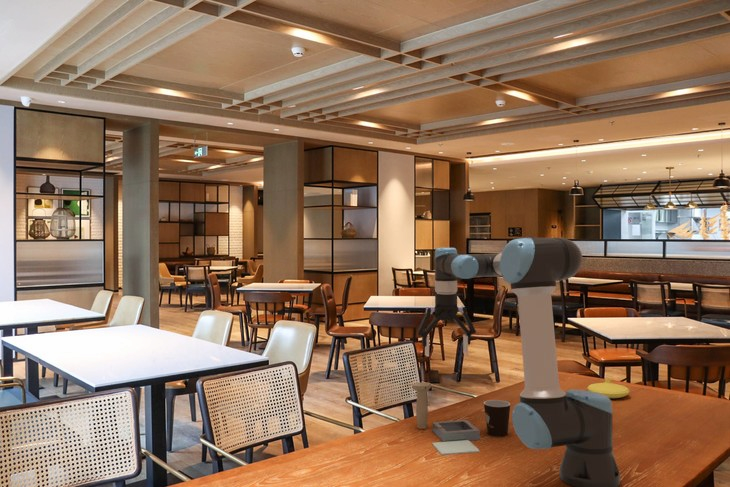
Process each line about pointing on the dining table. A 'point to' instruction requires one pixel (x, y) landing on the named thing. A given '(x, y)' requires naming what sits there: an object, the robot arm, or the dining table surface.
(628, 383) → the dining table surface
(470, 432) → the silver square frame
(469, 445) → the mat
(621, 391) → the yellow pattypan squash
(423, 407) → the handle
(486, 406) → the coffee mug
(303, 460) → the dining table surface
